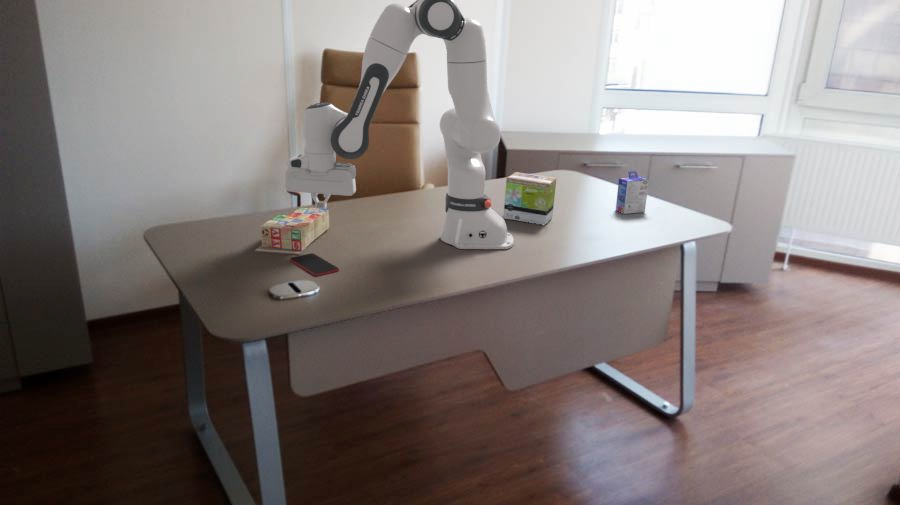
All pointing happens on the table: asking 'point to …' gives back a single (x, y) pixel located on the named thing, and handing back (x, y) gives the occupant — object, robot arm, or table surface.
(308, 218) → the stack of blocks
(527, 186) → the tea box
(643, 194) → the ink cartridge box
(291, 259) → the smartphone
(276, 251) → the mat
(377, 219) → the table surface
